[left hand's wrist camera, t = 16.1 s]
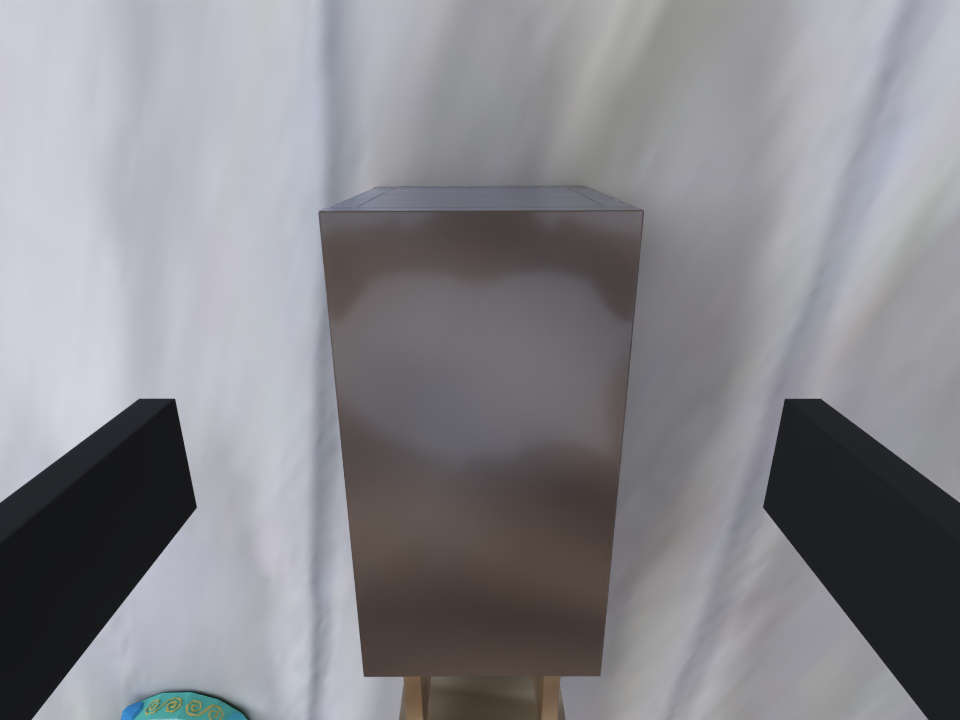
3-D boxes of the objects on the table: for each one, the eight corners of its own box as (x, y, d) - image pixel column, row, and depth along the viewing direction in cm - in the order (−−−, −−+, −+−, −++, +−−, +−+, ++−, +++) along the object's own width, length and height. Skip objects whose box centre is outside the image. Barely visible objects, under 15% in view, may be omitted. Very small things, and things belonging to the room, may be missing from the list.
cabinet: (565, 522, 35) (600, 676, 25) (397, 523, 35) (363, 677, 25) (585, 186, 28) (644, 210, 18) (375, 186, 28) (318, 211, 18)
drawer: (548, 715, 39) (566, 866, 31) (415, 715, 39) (398, 867, 31) (565, 385, 31) (597, 474, 23) (396, 386, 31) (366, 475, 23)
